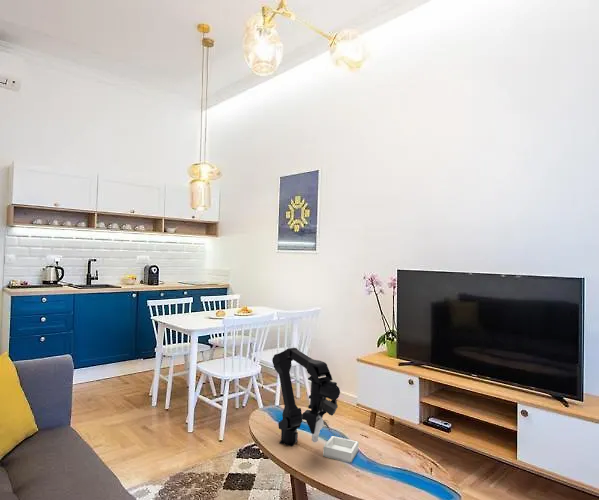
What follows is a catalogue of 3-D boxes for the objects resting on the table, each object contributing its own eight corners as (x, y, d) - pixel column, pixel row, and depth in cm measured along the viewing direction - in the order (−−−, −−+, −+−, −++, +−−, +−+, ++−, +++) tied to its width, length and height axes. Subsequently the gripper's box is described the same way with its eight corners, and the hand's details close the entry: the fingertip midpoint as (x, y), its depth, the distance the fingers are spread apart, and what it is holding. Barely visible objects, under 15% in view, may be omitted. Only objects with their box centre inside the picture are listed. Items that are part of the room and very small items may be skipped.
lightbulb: (311, 446, 168) (313, 418, 169) (304, 439, 174) (306, 413, 174) (325, 443, 171) (326, 416, 172) (317, 437, 177) (319, 411, 177)
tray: (323, 456, 174) (323, 446, 174) (331, 444, 185) (332, 435, 186) (350, 463, 170) (351, 453, 170) (358, 450, 181) (358, 441, 181)
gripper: (328, 403, 161) (326, 443, 161) (342, 390, 179) (340, 426, 178) (302, 398, 166) (300, 437, 165) (317, 385, 183) (316, 421, 183)
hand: (315, 430), depth 173 cm, fingers closed on lightbulb, 6 cm apart
